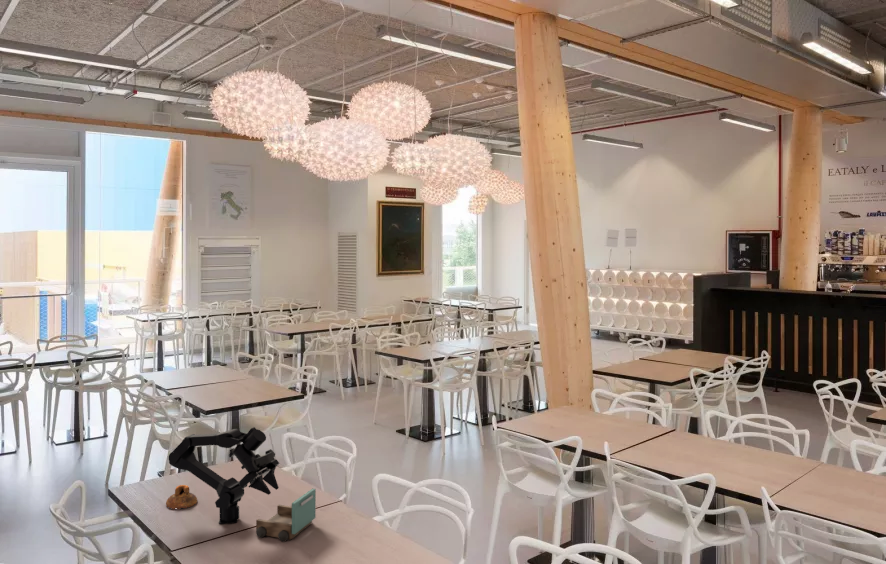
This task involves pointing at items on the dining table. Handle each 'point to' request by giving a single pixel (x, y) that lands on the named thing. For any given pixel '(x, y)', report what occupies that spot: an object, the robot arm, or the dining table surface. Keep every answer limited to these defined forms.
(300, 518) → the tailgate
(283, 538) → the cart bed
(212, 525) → the dining table surface
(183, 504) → the bell
